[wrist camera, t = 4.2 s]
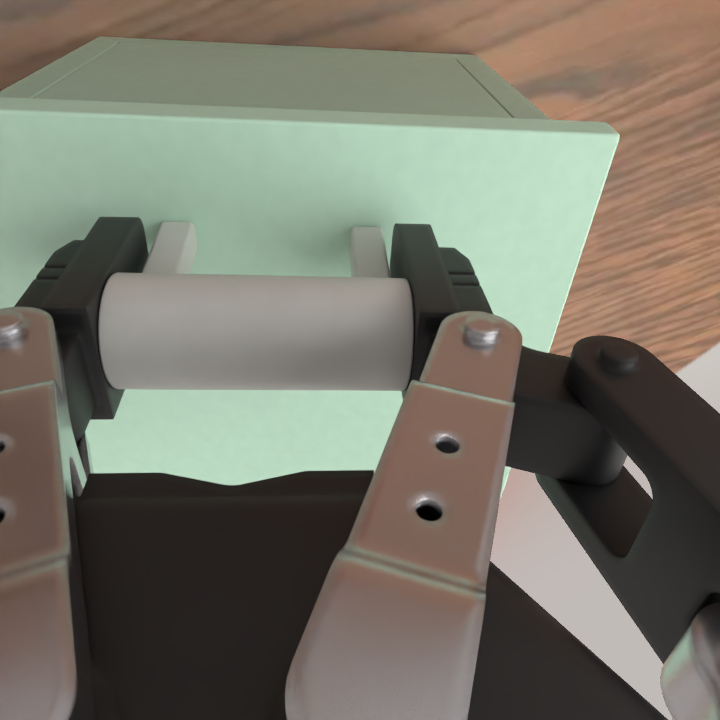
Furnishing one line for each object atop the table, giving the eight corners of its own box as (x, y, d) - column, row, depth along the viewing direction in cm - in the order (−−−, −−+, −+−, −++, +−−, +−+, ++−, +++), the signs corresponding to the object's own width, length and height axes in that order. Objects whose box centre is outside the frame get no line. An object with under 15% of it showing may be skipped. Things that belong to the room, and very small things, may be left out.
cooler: (97, 35, 22) (-48, 114, 13) (476, 54, 23) (575, 139, 14) (161, 398, 32) (101, 583, 23) (425, 399, 33) (465, 576, 24)
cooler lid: (-95, 91, 12) (-304, 218, 8) (607, 121, 13) (737, 244, 9) (101, 583, 23) (56, 736, 19) (465, 577, 24) (494, 720, 20)
